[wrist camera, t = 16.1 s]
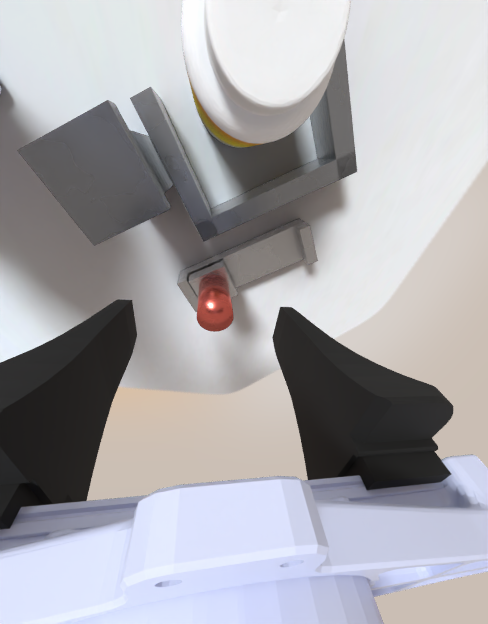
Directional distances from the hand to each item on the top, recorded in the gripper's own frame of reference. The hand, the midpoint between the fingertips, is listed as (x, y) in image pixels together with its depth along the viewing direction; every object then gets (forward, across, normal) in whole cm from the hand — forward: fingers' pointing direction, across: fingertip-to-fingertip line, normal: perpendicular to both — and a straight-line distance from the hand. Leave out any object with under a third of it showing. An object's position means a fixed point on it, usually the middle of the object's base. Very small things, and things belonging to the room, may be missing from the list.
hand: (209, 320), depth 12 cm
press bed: (+10, -1, -7) cm, 12 cm away
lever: (+8, -1, +2) cm, 9 cm away
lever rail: (+10, -3, 0) cm, 10 cm away
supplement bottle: (+10, -1, -10) cm, 14 cm away
